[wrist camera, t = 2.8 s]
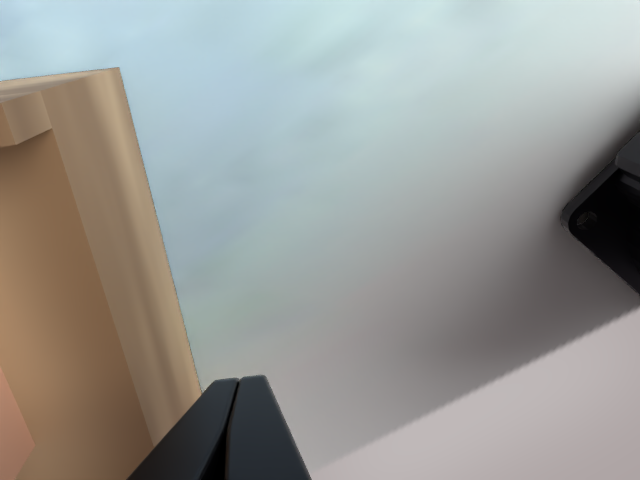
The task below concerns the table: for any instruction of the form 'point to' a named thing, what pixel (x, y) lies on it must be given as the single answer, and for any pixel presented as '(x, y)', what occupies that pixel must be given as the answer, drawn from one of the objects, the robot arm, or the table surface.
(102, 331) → the wooden box
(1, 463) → the tile
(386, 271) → the table surface
